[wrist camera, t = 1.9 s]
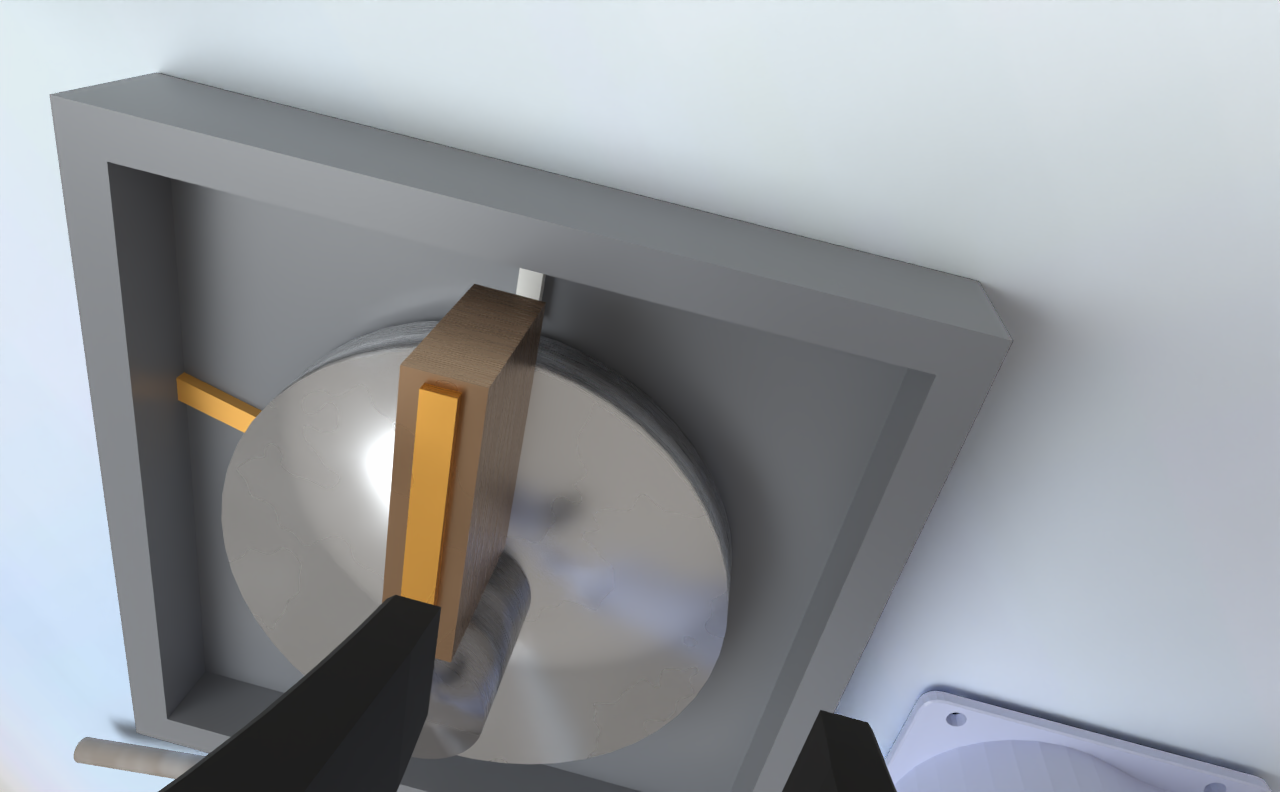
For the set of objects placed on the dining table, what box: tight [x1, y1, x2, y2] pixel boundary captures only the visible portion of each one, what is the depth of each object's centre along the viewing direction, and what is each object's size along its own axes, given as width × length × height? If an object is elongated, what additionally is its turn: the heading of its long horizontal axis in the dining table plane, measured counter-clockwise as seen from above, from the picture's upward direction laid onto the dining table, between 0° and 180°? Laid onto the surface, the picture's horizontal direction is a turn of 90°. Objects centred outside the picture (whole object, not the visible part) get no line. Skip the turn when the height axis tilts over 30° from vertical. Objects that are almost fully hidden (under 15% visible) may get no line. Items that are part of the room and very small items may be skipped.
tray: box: [50, 73, 1013, 792], centre depth 21 cm, size 18×18×3 cm
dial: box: [221, 284, 732, 764], centre depth 18 cm, size 14×12×5 cm
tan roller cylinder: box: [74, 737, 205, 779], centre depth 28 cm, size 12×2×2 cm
